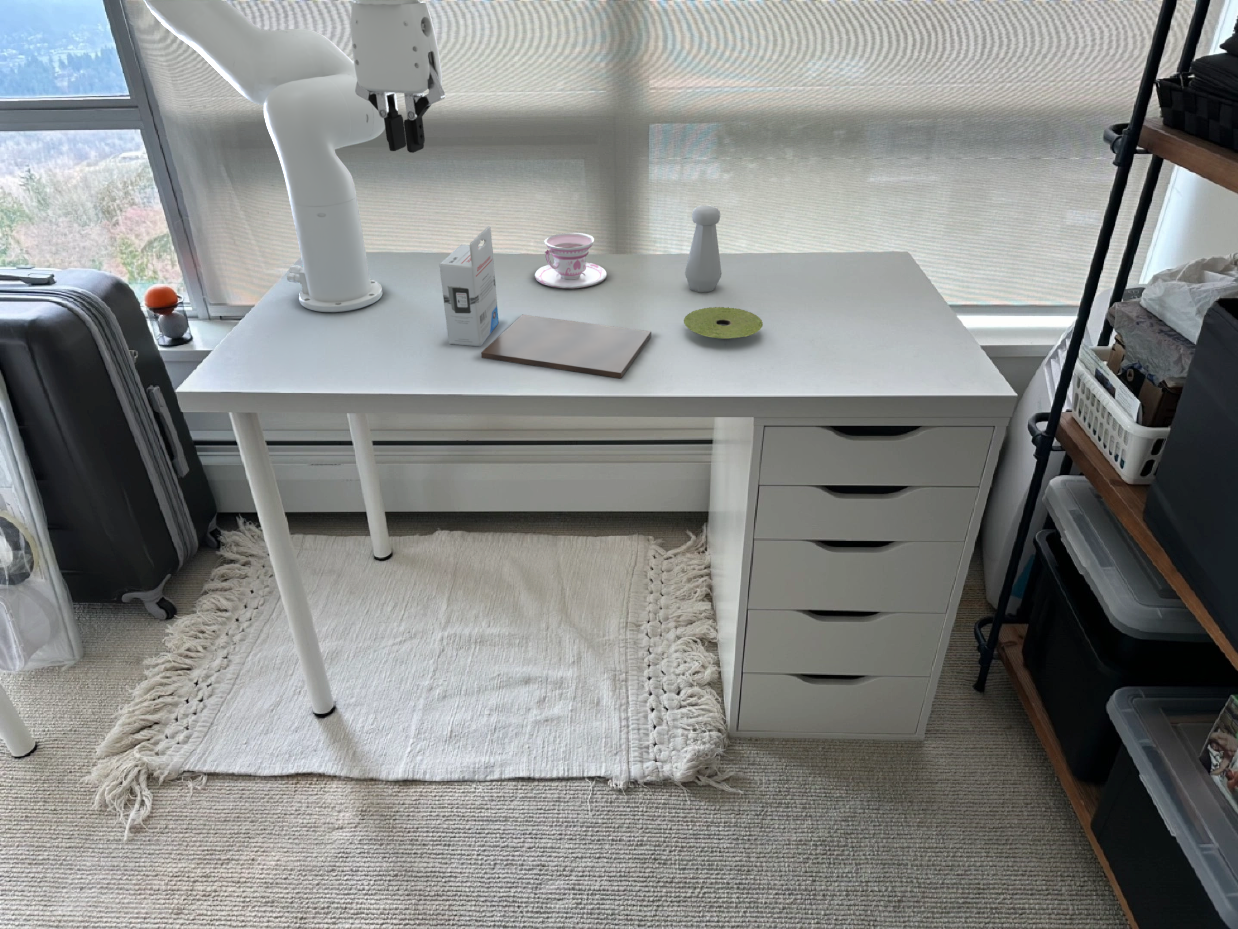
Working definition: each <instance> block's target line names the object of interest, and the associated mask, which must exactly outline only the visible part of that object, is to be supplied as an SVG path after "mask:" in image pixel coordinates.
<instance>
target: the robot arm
mask: <svg viewBox="0 0 1238 929" xmlns="http://www.w3.org/2000/svg"><path fill="white" fill-rule="evenodd" d="M142 1H143V2H144V4H145V5H146V6H147V8H148V10H149V11H150V12H151V14H152V15H153V16H154V17H155V18H156V19H157V20H158V21H159V22H160V24H162V25H163V26H164V27H165V28H166V29H168V30H169V31H170V32H171V33H172V34H174V35H175V36H176V37H177V38H179V39H180V40H181V41H183V42H184V43H186V44H187V45H189V47H191V48H192V49H194V50H195V51H196V52H197V53H198V54H199V55H200V56H202V58H204V59H205V61H206V62H208V64H210V65H211V66H212V68H214V69H215V70H216V72H218V74H220V76H222V78H224V79H225V80H226V81H227V82H228V83H229V84H230V85H231V86H232V87H233V88H234V89H235V90H236V91H237V92H239V94H240V95H241V96H243V97H244V98H245V99H247V100H248V101H249V102H251V103H253V104H256V105H260V106H263V117H264V121H265V125H266V128H267V130H268V133H269V135H270V138H271V140H272V143H273V145H274V148H275V151H276V153H277V156H278V159H279V162H280V165H281V170H282V173H283V177H284V180H285V185H286V190H287V195H288V200H289V204H290V208H291V209H290V210H291V214H292V219H293V223H294V228H295V233H296V238H297V243H298V248H299V254H300V257H301V258H300V259H301V263H302V265H295V264H293V265H291V266H290V267H289V269H288V270H289V271H288V272H289V273H288V274H287V275H286V280H287V282H289V283H295V284H298V283H299V284H300V286H301V290H300V291H299V293H298V300H299V303H300V305H301V306H303V307H304V308H305V309H308V310H311V311H313V312H315V311H316V312H321V313H339V312H340V313H341V312H348V311H355V310H359V309H362V308H365V307H368V306H370V305H373V304H374V303H376V302H378V301H379V300H380V299H381V298H382V296H383V287H382V285H381V284H380V283H379V281H377V280H374V279H371V275H370V270H369V264H368V257H367V251H366V246H365V238H364V232H363V226H362V219H361V214H360V209H359V208H360V207H359V202H358V196H357V190H356V185H355V181H354V178H353V176H352V173H351V172H350V170H349V169H348V167H347V166H346V165H345V164H344V162H342V160H341V159H340V158H339V157H338V155H337V152H336V150H337V149H341V148H344V147H350V146H353V145H358V144H362V143H365V142H369V141H372V140H375V139H376V138H377V137H379V136H381V135H382V133H383V132H384V131H385V136H386V142H387V143H388V149H389V151H390V152H396V151H399V150H401V149H404V148H405V147H406V150H407V152H408V153H410V154H414V153H416V152H418V151H421V150H423V149H424V148H425V141H426V138H425V130H424V128H425V127H424V122H423V117H425V116H426V114H427V111H428V110H429V109H430V108H431V106H432V105H434V104H435V103H437V102H440V101H442V100H444V99H445V98H446V92H445V90H444V88H443V86H442V84H443V70H442V64H441V63H442V62H441V56H440V50H439V46H438V40H437V35H436V30H435V26H434V23H433V18H432V16H431V12H430V8H429V6H428V2H427V1H422V0H355V1H351V12H350V34H351V47H352V48H351V50H352V59H351V58H350V57H349V56H348V55H347V54H346V53H345V52H344V51H343V50H342V49H340V48H339V47H338V46H337V45H336V44H335V43H334V42H333V41H331V39H330V38H329V37H326V36H325V35H323V33H320V32H319V31H317V30H313V29H309V28H288V29H280V30H279V29H278V30H277V29H275V30H274V29H273V30H272V29H271V30H270V29H263V28H260V27H259V26H257V25H256V24H255V23H253V22H252V21H251V20H250V19H249V18H248V17H247V16H246V15H245V14H244V13H243V12H242V11H240V10H239V9H238V8H236V7H235V6H234V5H232V4H230V3H228V2H227V1H225V0H142ZM427 90H428V93H427V94H425V93H424V92H426V91H427ZM397 94H403V97H404V104H405V111H406V112H405V113H406V117H407V118H406V119H404V117H403V114H399V108H398V107H399V106H398V100H397Z"/></svg>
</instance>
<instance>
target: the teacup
mask: <svg viewBox="0 0 1238 929" xmlns="http://www.w3.org/2000/svg"><path fill="white" fill-rule="evenodd" d="M594 241H595V238H594V237H593V236H592V235H591V234H588V233H584V232H561V233H557V234H553V235H550V236H548V237H546V238H545V239H544V241H543V243H544V244H545V245H546V246H545V247H546V248H547V249H546V251H544V254H545V259H546V262H547V264H546V265H543V266H541V267H539V268H538V269H537V270H536V271H535V273H534V278H535V280H536V281H537V282H539V283H540V284H541V285H544V286H548V287H552V288H558V289H579V288H587V287H590V286H595V285H597V284H600V283H602V282H603V281H604V280H606V278H607V271H606V269H605V268H604V267H602V266H600V265H599V264H595V263H592V262H587V256H588V255H589V253H590V252H589V250H590V249H591V248H592V246H593V245H594ZM550 255H551V256H552V257H553V263H552V261H551V258H550Z"/></svg>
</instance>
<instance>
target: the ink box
mask: <svg viewBox="0 0 1238 929" xmlns="http://www.w3.org/2000/svg"><path fill="white" fill-rule="evenodd" d="M492 239H493V238H492V230H491V226H490V225H487V227H486V228H485V229H484V230H482V231H481V232H480V233H479V234H478V235H477V236H476V237H475V238H474V239H473V240H471V242H470V243H469V244H463V243H461V244H459V246H458V247H456V249H454V250H453V251H452V252H451V253H449V255H448V256H446V258H444V259H443V260H442V261H441V262H440V263H439V264H438V266H439V274H440V281H441V289H442V297H443V298H442V299H443V306H444V315H445V323H446V331H447V332H446V333H447V339H448V344H450V345H460V346H473V347H481V346H482V345H483V344H484V343H485V342H486V340H487V339H488V338H489V336H491V334H492V332H493V331H494V330H495V328H496V327H497V326H498V324H499V323H500V322H499V310H498V297H497V284H496V272H495V259H494V247H493V240H492ZM481 242H483V244H482V245H480V244H481Z"/></svg>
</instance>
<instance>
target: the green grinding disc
mask: <svg viewBox="0 0 1238 929" xmlns="http://www.w3.org/2000/svg"><path fill="white" fill-rule="evenodd" d="M683 324H684V325H685V327H686V328H687V329H688V330H689V331H691V332H693V333H695V334H697V335H700V336H703V337H707V338H712V339H713V338H715V339H729V340H730V339H737V338H743V337H748V336H749V337H750V336H752V335H754V334H756V333H759V331H761V329H762V328H763V327H764V326H763V325H764V323H763V320H762V319H761V317H759V316H758V314H755V313H752V312H751V311H748V310H745V309H742V308H737V307H729V306H727V307H724V306H713V307H712V306H710V307H704V308H699V309H694V310H693V311H691V312H689V313H687V314H686V315H685V317H684V318H683Z"/></svg>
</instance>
